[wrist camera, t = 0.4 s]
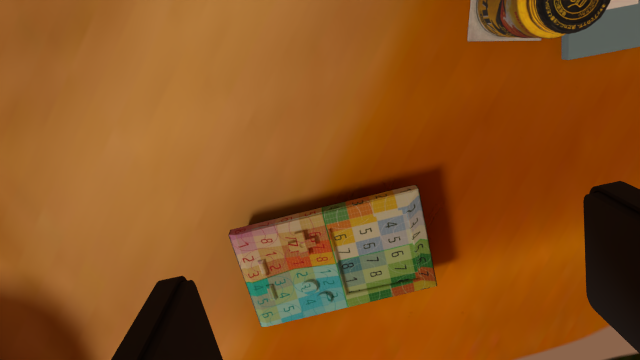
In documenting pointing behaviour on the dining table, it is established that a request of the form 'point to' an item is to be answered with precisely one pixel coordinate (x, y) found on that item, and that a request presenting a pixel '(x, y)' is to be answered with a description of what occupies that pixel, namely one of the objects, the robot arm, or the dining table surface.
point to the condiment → (531, 18)
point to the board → (606, 32)
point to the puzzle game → (335, 256)
